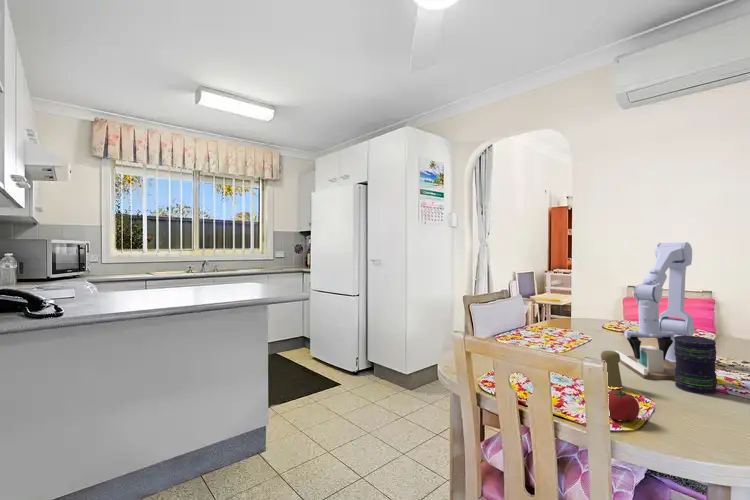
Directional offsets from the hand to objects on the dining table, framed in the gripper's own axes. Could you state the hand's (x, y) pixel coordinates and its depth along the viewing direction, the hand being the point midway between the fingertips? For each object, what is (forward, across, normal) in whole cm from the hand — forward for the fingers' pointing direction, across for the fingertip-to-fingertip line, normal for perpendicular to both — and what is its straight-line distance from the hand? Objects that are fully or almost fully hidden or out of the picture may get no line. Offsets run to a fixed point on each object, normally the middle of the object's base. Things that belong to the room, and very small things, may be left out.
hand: (649, 358), depth 131 cm
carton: (+3, 0, 0) cm, 3 cm away
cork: (+5, -18, -15) cm, 24 cm away
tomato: (+5, -25, -38) cm, 46 cm away
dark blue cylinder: (+5, +6, -14) cm, 16 cm away
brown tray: (+5, +3, +4) cm, 7 cm away
